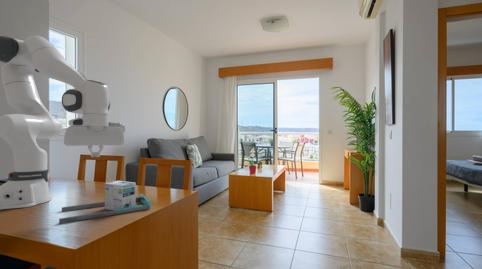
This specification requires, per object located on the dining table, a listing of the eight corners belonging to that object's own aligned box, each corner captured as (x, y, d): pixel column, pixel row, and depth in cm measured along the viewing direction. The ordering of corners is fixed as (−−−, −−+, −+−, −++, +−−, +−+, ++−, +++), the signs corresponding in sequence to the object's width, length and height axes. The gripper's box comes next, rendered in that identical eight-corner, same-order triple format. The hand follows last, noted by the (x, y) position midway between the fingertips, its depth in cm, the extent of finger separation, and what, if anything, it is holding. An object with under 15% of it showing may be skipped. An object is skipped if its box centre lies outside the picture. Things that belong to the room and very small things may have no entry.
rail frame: (59, 223, 82) (59, 215, 82) (61, 211, 95) (61, 203, 95) (150, 208, 99) (150, 201, 99) (142, 199, 112) (142, 193, 112)
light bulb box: (136, 207, 100) (136, 182, 100) (122, 212, 94) (122, 185, 94) (118, 204, 104) (118, 179, 104) (103, 209, 98) (104, 182, 98)
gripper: (123, 123, 103) (123, 155, 103) (64, 120, 91) (64, 157, 91) (126, 122, 98) (125, 156, 98) (63, 120, 86) (63, 158, 86)
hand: (95, 156), depth 95 cm, fingers closed
